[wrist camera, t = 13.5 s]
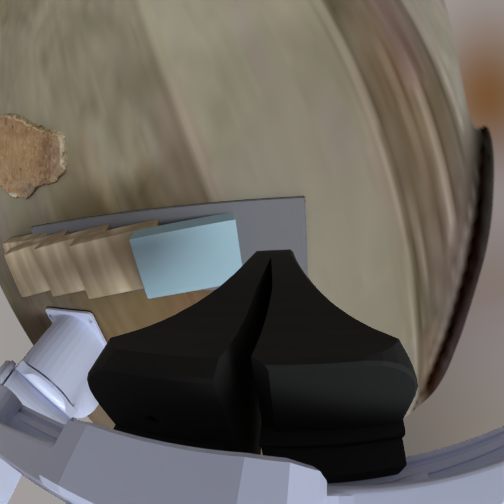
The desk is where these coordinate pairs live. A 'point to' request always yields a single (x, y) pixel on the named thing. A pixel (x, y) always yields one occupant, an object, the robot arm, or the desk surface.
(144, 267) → the tile
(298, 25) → the desk surface
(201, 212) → the felt runner
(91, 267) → the tile
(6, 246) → the tile
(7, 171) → the pottery shard
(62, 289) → the tile
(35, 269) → the tile
